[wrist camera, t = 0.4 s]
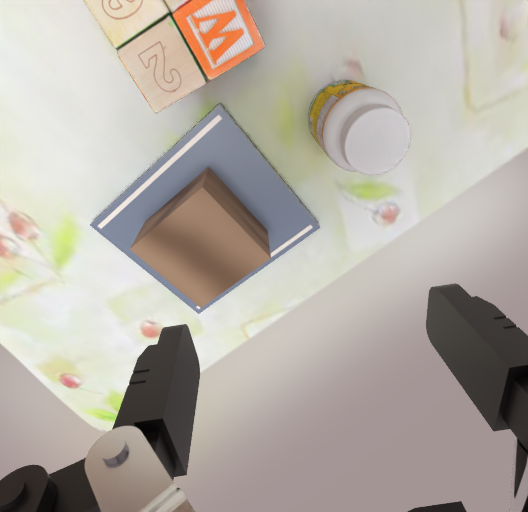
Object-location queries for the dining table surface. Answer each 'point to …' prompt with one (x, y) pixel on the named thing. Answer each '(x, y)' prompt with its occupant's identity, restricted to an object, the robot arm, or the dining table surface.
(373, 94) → the supplement bottle
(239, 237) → the walnut plinth
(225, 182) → the blueprint board
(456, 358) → the robot arm
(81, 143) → the dining table surface
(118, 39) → the stack of blocks
